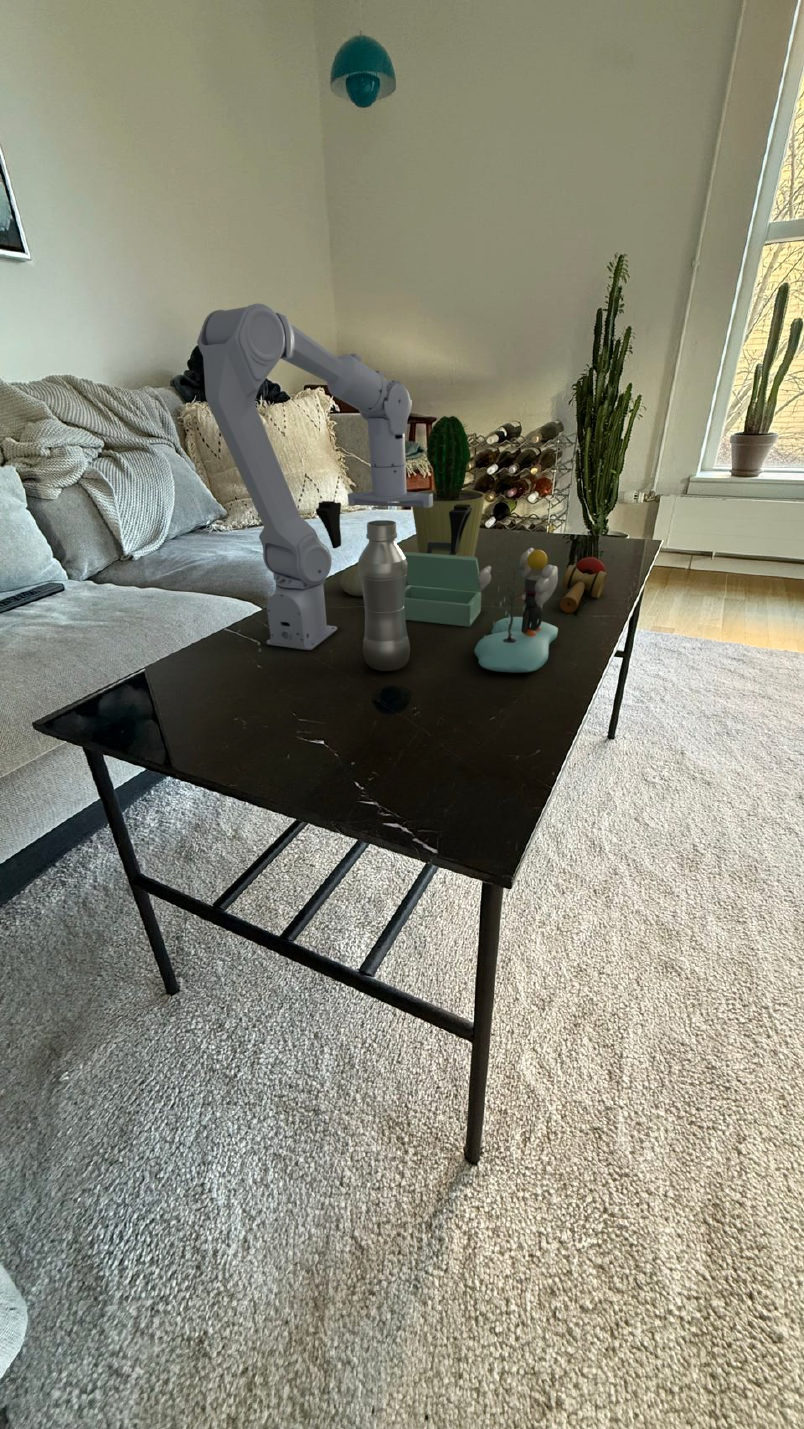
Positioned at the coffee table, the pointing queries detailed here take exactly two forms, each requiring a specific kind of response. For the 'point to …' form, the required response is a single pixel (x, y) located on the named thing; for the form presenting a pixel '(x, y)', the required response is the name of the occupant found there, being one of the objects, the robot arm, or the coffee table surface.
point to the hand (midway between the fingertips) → (392, 549)
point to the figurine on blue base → (521, 621)
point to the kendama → (582, 582)
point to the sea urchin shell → (351, 581)
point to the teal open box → (442, 605)
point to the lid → (442, 568)
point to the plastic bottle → (384, 598)
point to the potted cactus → (448, 489)
